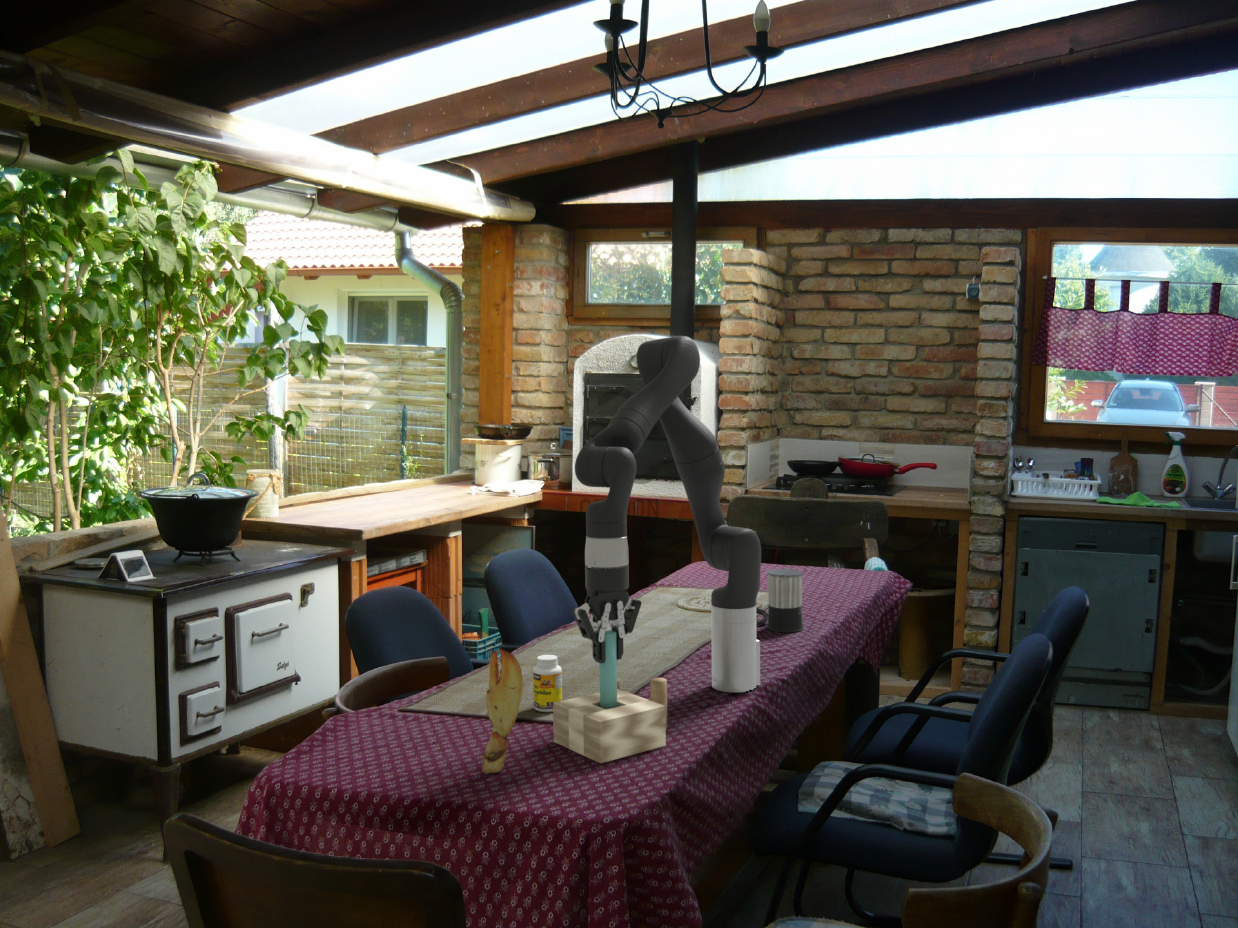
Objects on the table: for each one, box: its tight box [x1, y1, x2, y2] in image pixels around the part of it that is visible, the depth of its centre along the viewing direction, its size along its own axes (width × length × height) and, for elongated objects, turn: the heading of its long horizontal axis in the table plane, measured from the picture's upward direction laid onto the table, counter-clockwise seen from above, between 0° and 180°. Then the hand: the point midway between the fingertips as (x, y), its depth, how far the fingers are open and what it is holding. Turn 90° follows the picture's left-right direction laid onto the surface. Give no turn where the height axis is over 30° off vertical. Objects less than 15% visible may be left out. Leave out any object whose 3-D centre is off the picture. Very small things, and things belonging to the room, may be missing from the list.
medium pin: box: [649, 677, 668, 731], centre depth 195 cm, size 3×3×9 cm
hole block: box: [552, 689, 667, 764], centre depth 187 cm, size 14×14×7 cm
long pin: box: [599, 629, 618, 710], centre depth 187 cm, size 3×3×14 cm
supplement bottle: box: [532, 654, 563, 713], centre depth 208 cm, size 6×6×10 cm
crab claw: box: [481, 648, 524, 775], centre depth 174 cm, size 7×5×20 cm
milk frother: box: [756, 568, 804, 633], centre depth 276 cm, size 14×16×15 cm
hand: (608, 659), depth 187 cm, fingers closed on long pin, 3 cm apart
